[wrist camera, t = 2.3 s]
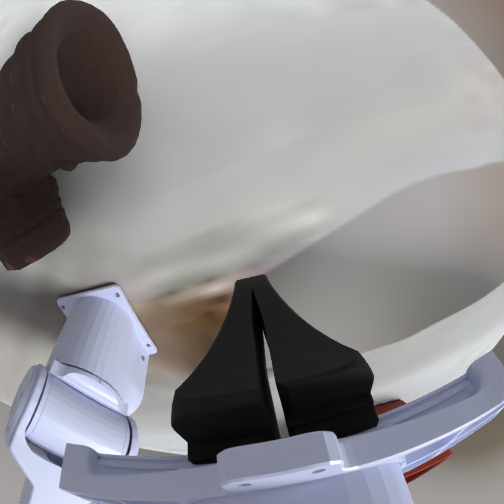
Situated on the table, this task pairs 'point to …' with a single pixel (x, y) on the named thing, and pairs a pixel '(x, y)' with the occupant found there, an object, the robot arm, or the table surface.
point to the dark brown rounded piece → (59, 121)
